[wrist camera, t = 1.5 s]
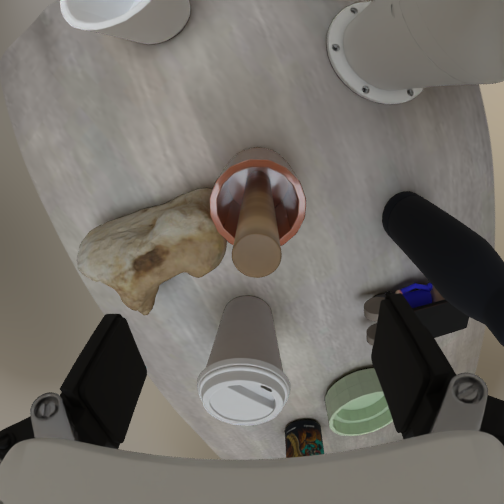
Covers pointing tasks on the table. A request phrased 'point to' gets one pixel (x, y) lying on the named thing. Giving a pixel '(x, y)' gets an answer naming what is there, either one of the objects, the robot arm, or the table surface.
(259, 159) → the holder
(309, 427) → the beverage can
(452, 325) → the figurine character
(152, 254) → the stone
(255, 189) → the stirring stick
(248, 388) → the coffee cup
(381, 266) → the table surface
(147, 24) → the cup
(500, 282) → the black water bottle
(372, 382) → the bowl
